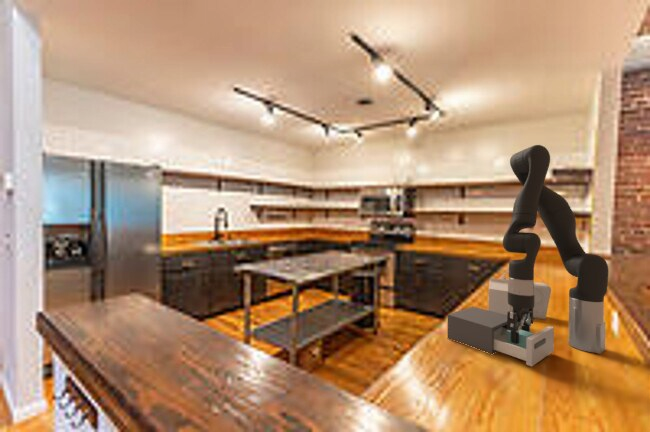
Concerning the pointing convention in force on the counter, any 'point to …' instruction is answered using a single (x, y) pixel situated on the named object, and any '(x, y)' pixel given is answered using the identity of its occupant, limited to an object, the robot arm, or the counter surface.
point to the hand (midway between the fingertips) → (520, 340)
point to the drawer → (535, 345)
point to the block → (522, 338)
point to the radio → (538, 299)
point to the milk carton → (498, 296)
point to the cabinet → (475, 327)
